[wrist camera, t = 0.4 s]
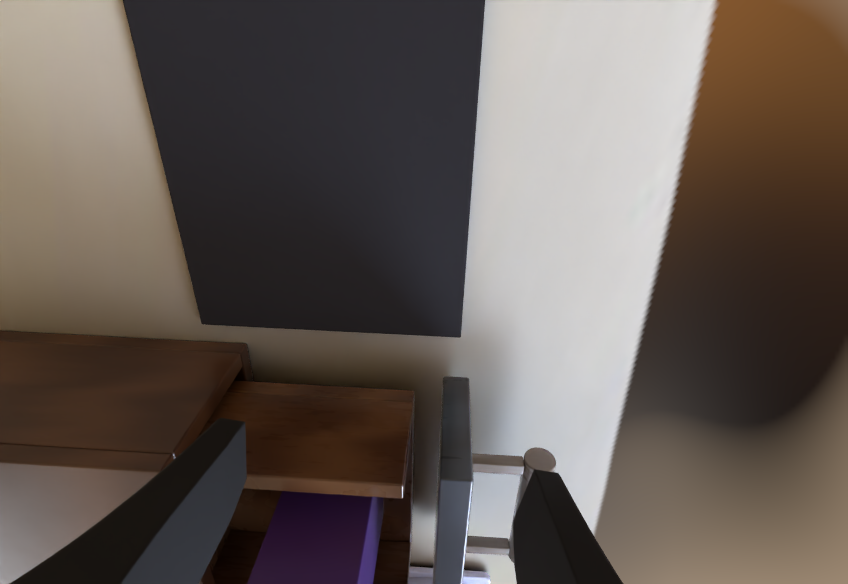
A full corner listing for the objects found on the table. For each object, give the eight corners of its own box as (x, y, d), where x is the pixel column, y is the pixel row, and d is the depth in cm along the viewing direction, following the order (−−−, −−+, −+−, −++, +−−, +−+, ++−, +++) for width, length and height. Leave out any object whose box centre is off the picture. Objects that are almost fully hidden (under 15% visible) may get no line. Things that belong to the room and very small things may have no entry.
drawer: (556, 381, 22) (587, 488, 16) (523, 547, 28) (538, 663, 22) (183, 361, 22) (103, 457, 17) (229, 527, 28) (180, 635, 23)
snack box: (383, 514, 25) (360, 669, 19) (309, 509, 25) (263, 661, 19) (381, 447, 23) (354, 599, 17) (299, 442, 23) (243, 591, 17)
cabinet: (247, 343, 23) (160, 471, 16) (282, 522, 29) (230, 667, 23) (-44, 327, 23) (-244, 445, 17) (54, 507, 30) (-60, 643, 23)
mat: (460, 333, 22) (460, 338, 21) (205, 320, 22) (201, 324, 22) (499, -211, 13) (500, -217, 13) (78, -213, 13) (68, -219, 13)
